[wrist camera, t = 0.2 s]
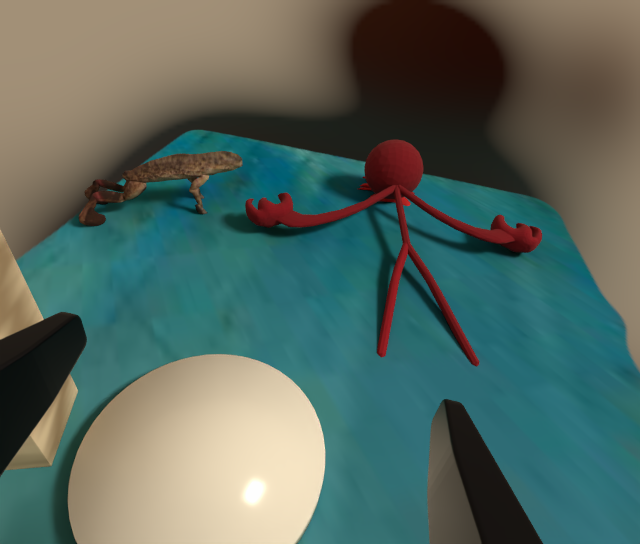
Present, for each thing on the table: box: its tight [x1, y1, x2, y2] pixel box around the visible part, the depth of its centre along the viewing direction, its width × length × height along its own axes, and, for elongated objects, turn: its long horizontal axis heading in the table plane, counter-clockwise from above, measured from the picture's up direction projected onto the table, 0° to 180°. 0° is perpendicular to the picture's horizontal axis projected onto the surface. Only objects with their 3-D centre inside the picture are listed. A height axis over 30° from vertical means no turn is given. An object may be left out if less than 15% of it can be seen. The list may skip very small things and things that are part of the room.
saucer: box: [68, 354, 325, 544], centre depth 24 cm, size 14×14×1 cm
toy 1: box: [79, 151, 242, 226], centre depth 43 cm, size 6×9×16 cm
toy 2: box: [245, 140, 542, 367], centre depth 42 cm, size 32×8×30 cm
